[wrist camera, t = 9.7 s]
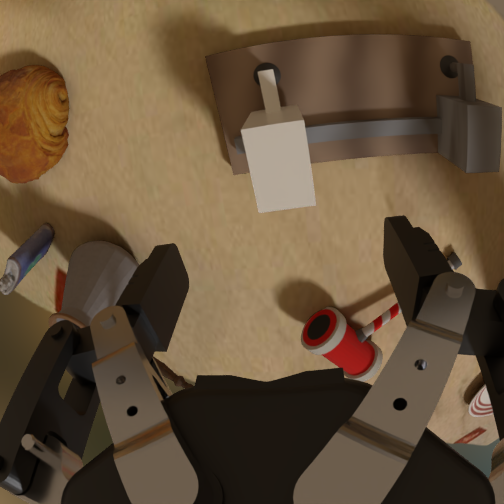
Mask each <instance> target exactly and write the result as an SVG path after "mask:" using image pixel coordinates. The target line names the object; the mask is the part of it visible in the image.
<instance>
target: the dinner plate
mask: <svg viewBox="0 0 504 504" xmlns="http://www.w3.org/2000/svg"><path fill="white" fill-rule="evenodd" d="M468 411H469V414H470V415H471V416H474V417H483V416H488V415H491V414H494V413H493V410H492V406H491V402H490V399H489V395H488V392H487V388H486V385H485V384H484V385H483V387H482V388H481V389H480V390H479V391H478V392H477V394H476V395H475V396H474V398H473V399H472V401H471V403H470V405H469V408H468Z"/></svg>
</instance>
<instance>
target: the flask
mask: <svg viewBox="0 0 504 504" xmlns="http://www.w3.org/2000/svg"><path fill="white" fill-rule="evenodd" d="M51 228H52V230H51ZM53 238H54V229H53V227H52V226H51V227H50V225H49V224H48V223H47V224H43V225H42V226H41V227H40V228H39V229H38V230H37V231H36V232H35V233H34V234H33V235H32V236H31V237H30V238H29V239H28V240H27V241H26V242H25V243H24V244H23V245H22V246H21V247H20V248H18V249H17V250H16V252H14V253H13V254H12V255H11V256H10V257H9V258H8V260H7V265H6V269H5V273H4V275H3V277H2V278H1V279H0V291H1V292H2V293H3V294H5V295H8V294H10V292H12V291H13V290H14V289H15V288H16V286H17V285H18V284H19V282H20V281H21V280H22V279H23V278H24V277H25V276H26V274H27V273H28V272H29V271H30V270H31V269H32V268H33V267H34V266H35V264H36V263H37V262H38V261H39V260H40V259H41V258H42V257H44V255H46V253H47V252H48V249H49V247H50V245H51V243H52V241H53Z"/></svg>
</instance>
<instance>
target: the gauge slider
mask: <svg viewBox="0 0 504 504" xmlns="http://www.w3.org/2000/svg"><path fill="white" fill-rule="evenodd" d="M258 76H259V81H260V86H261V91H262V95H263V100H264V105H265V110H260V111H254V112H251V113H250V115H249V117H248V118H247V120H246V122H245V123H244V125H243V127H242V128H241V134H242V138H243V143H244V147H245V152H246V156H247V161H248V165H249V170H250V174H251V179H252V183H253V188H254V193H255V197H256V202H257V207H258V211H259V213H263V212H270V211H278V210H285V209H292V208H300V207H308V206H316V201H315V193H314V185H313V177H312V170H311V163H310V156H309V149H308V142H307V136H306V129H305V123H304V119H303V117H302V115H301V112H300V110H299V108H298V106H297V105H292V106H285V107H281V106H280V101H279V96H278V91H277V86H276V81H275V76H274V71H273V69H270V70H264V71H259V72H258Z"/></svg>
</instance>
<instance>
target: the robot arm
mask: <svg viewBox="0 0 504 504" xmlns="http://www.w3.org/2000/svg"><path fill="white" fill-rule="evenodd" d="M383 257H384V265H385V269H386V271H387V274H388V277H389V279H390V282H391V284H392V287H393V289H394V292H395V295H396V297H397V300H398V303H399V306H400V308H401V311H402V314H403V317H404V320H405V322H406V325H407V328H406V330H405V332H404V334H403V335H402V337H401V339H400V341H399V343H398V344H397V346H396V348H395V350H394V351H393V353H392V355H391V357H390V358H389V360H388V362H387V363H386V365H385V367H384V368H383V370H382V372H381V373H380V375H379V376H378V378H377V380H376V381H375V383H374V384H373V386H372V385H370V384H368V383H365V382H362V381H359V380H354V379H349V378H344V372H343V367H342V368H334V369H324V370H314V371H305V372H302V373H298V374H295V375H292V376H288V377H284V378H281V379H277V380H274V381H269V382H263V381H258V380H252V379H247V378H242V377H237V376H232V375H197V379H196V383H195V386H192V387H189V388H186V389H183V390H181V391H178V392H176V393H174V394H173V395H172V393H171V391H170V389H169V387H168V385H167V383H166V381H165V379H164V378H163V375H162V373H161V371H160V369H159V367H158V365H157V363H156V361H155V360H154V358H153V354H154V352H155V351H162V352H167V349H168V346H169V343H170V340H171V337H172V334H173V331H174V328H175V326H176V323H177V320H178V317H179V314H180V312H181V309H182V306H183V303H184V300H185V298H186V295H187V292H188V289H189V278H188V274H187V272H186V269H185V266H184V264H183V261H182V258H181V256H180V253H179V250H178V248H177V246H176V245H175V244H174V243H172V244H165V245H158V246H155V248H154V249H153V251H152V253H151V254H150V256H149V258H148V259H146V260H145V261H144V262H142V263H141V264H140V265H139V266H138V267H137V268H136V270H135V272H134V273H133V275H132V277H131V279H130V280H129V282H128V284H127V285H126V287H125V289H124V291H123V292H122V294H121V296H120V298H119V299H118V301H117V303H116V305H115V306H110V307H107V308H105V309H103V310H101V311H100V312H98V313H97V314H96V315H95V316H94V318H93V319H92V321H91V324H90V326H87V327H84V328H80V329H77V330H76V328H75V327H74V325H73V324H72V322H71V321H69V320H62V321H59V322H57V323H55V324H54V325H52V326H51V327H50V328H49V329H48V331H47V332H46V333H45V335H44V337H43V339H42V340H41V342H40V344H39V346H38V348H37V349H36V351H35V353H34V355H33V357H32V358H31V360H30V362H29V364H28V366H27V368H26V370H25V372H24V373H23V376H22V377H21V380H20V381H19V383H18V385H17V388H16V390H15V392H14V394H13V396H12V398H11V400H10V402H9V405H8V406H7V409H6V411H5V413H4V415H3V418H2V420H1V422H0V487H2V488H4V489H5V490H7V491H9V492H10V493H11V494H12V495H14V496H16V497H18V498H20V499H22V500H24V501H26V502H28V503H30V504H504V279H503V280H501V281H500V283H499V285H498V288H497V291H496V290H484V289H476V288H475V285H474V284H473V282H472V281H471V280H470V279H469V278H468V277H466V276H465V275H463V274H460V273H456V272H454V271H453V270H452V268H451V266H450V265H449V263H448V262H447V260H446V259H445V257H444V255H443V254H442V252H441V251H439V248H438V246H437V245H436V244H435V242H434V240H433V239H432V237H431V236H430V235H429V233H427V232H426V231H424V230H423V229H421V228H420V227H415V228H413V227H412V225H411V224H410V222H409V221H408V219H407V218H406V216H404V215H403V216H394V217H386V218H385V221H384V249H383ZM457 354H463V355H476V358H477V361H478V363H479V366H480V369H481V372H482V376H483V379H484V382H485V385H486V388H487V392H488V395H489V399H490V402H491V406H492V410H493V413H494V417H495V421H496V426H497V430H498V434H499V439H500V442H499V443H498V444H497V445H496V447H495V449H494V451H493V454H492V459H491V473H490V476H489V478H487V477H486V475H485V474H484V473H483V472H481V471H480V470H479V469H478V468H477V467H475V466H474V465H472V464H471V463H470V462H469V461H468V460H466V459H465V458H464V457H463V456H461V455H460V454H459V453H458V452H456V451H455V450H454V449H452V448H451V447H450V446H449V445H448V444H446V443H445V442H444V441H443V440H442V439H440V438H439V437H438V436H437V435H435V434H434V433H433V432H432V431H430V430H429V429H428V428H427V427H426V426H427V424H428V422H429V420H430V418H431V416H432V414H433V412H434V410H435V408H436V405H437V403H438V401H439V399H440V397H441V394H442V392H443V390H444V387H445V385H446V383H447V380H448V378H449V375H450V373H451V370H452V367H453V365H454V362H455V360H456V357H457ZM65 369H66V370H67V371H68V372H69V374H70V375H71V376H72V377H73V379H72V381H71V383H70V386H69V388H68V391H67V393H66V395H65V398H64V400H63V399H62V398H61V397H60V395H59V392H58V385H59V382H60V380H61V378H62V376H63V374H64V371H65ZM100 401H101V404H102V408H103V411H104V415H105V418H106V421H107V425H108V427H109V431H110V434H111V437H112V440H113V444H111V445H110V446H109V447H108V448H106V449H105V450H104V451H103V452H101V453H100V454H99V455H98V456H96V457H95V458H94V459H93V460H91V461H90V462H89V463H88V464H86V465H85V466H84V467H83V464H82V456H83V453H84V450H85V446H86V443H87V440H88V437H89V433H90V430H91V427H92V424H93V421H94V418H95V415H96V412H97V409H98V406H99V403H100Z"/></svg>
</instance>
